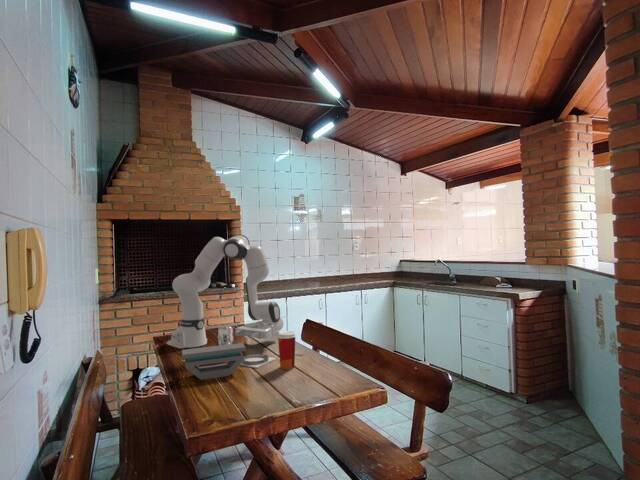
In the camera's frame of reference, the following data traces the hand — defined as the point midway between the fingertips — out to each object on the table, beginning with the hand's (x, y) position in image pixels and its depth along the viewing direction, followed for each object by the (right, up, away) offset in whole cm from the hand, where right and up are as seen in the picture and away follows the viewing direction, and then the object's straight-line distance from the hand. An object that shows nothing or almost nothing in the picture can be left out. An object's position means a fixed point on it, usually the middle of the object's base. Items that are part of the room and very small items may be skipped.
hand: (243, 335), depth 190 cm
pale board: (+9, -8, -15) cm, 19 cm away
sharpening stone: (-6, -9, -31) cm, 33 cm away
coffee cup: (+24, -8, -25) cm, 35 cm away
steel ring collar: (+9, -8, -15) cm, 19 cm away
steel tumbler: (-6, -9, -10) cm, 15 cm away
